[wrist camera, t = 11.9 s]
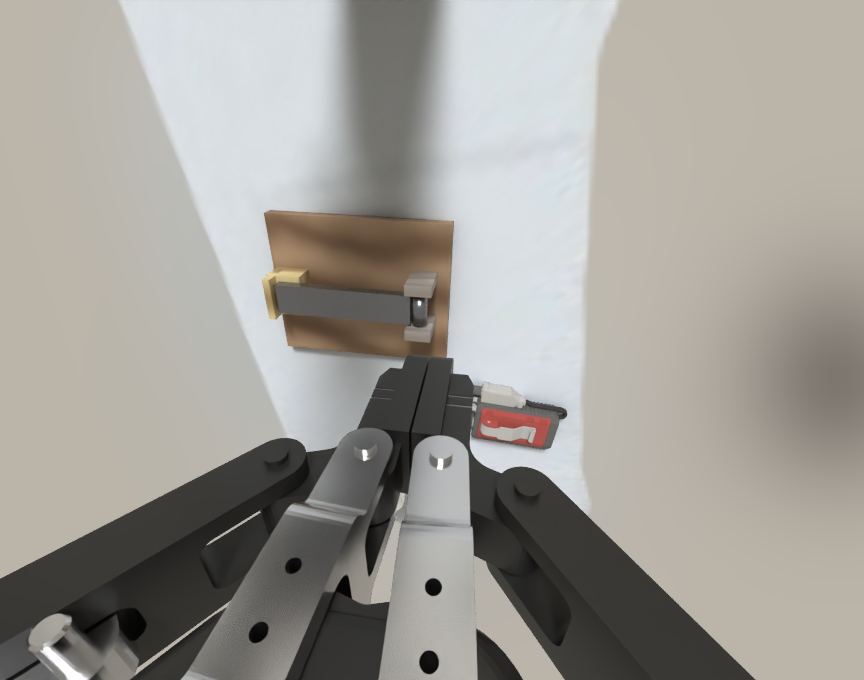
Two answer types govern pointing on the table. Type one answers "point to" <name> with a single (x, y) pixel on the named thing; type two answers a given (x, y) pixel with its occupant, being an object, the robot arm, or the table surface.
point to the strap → (351, 303)
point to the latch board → (363, 277)
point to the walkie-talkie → (513, 417)
